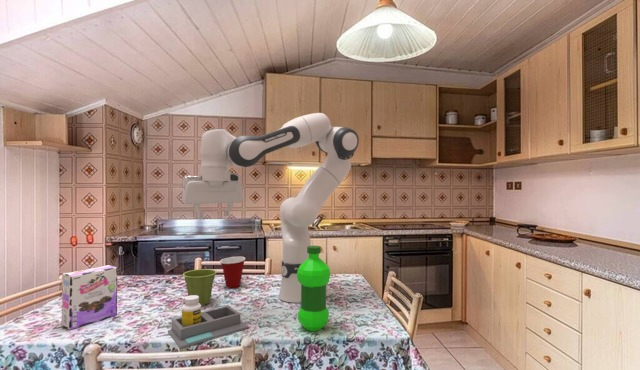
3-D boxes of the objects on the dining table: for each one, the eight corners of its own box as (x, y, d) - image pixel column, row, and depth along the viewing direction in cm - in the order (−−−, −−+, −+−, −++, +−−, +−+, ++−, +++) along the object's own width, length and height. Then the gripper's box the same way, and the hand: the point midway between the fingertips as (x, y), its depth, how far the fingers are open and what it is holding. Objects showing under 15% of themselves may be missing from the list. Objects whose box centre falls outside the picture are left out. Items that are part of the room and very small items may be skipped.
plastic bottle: (330, 320, 107) (330, 244, 107) (329, 335, 96) (329, 250, 96) (299, 319, 107) (300, 243, 107) (295, 334, 97) (295, 250, 97)
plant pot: (223, 301, 124) (223, 271, 124) (195, 311, 114) (195, 279, 114) (203, 295, 131) (203, 267, 131) (175, 304, 121) (176, 273, 121)
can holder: (231, 315, 111) (231, 304, 111) (248, 328, 101) (248, 316, 101) (167, 332, 98) (167, 320, 98) (180, 348, 88) (180, 335, 88)
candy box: (69, 330, 99) (69, 276, 98) (61, 326, 102) (61, 273, 102) (117, 315, 110) (118, 266, 110) (108, 311, 113) (109, 264, 113)
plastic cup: (217, 284, 145) (218, 257, 145) (242, 281, 149) (242, 255, 149) (221, 291, 135) (221, 262, 135) (247, 288, 140) (247, 260, 140)
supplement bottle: (194, 334, 95) (194, 301, 95) (177, 333, 96) (177, 299, 96) (204, 327, 100) (204, 294, 100) (188, 325, 101) (188, 293, 101)
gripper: (185, 175, 103) (185, 219, 103) (245, 176, 116) (245, 215, 116) (179, 175, 108) (179, 217, 108) (237, 177, 121) (237, 214, 121)
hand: (213, 216), depth 112 cm, fingers open, 8 cm apart
